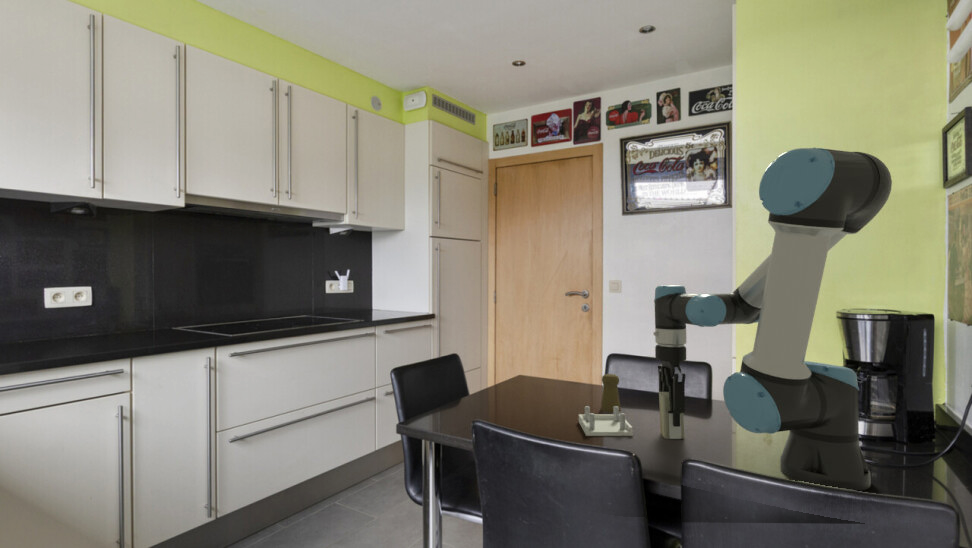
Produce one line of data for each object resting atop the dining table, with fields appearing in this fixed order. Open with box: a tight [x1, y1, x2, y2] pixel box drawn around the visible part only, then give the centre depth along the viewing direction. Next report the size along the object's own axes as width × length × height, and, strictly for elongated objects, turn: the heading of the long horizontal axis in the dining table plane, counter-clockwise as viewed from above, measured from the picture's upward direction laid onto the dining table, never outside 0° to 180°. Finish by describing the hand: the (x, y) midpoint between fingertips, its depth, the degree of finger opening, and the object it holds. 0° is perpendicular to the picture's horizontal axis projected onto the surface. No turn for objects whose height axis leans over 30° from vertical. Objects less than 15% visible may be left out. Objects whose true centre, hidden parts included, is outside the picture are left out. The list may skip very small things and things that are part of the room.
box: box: [658, 391, 685, 439], centre depth 124 cm, size 5×4×11 cm
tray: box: [578, 405, 634, 437], centre depth 130 cm, size 12×12×5 cm
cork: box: [600, 373, 622, 414], centre depth 149 cm, size 6×6×11 cm
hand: (671, 434), depth 124 cm, fingers closed on box, 4 cm apart
